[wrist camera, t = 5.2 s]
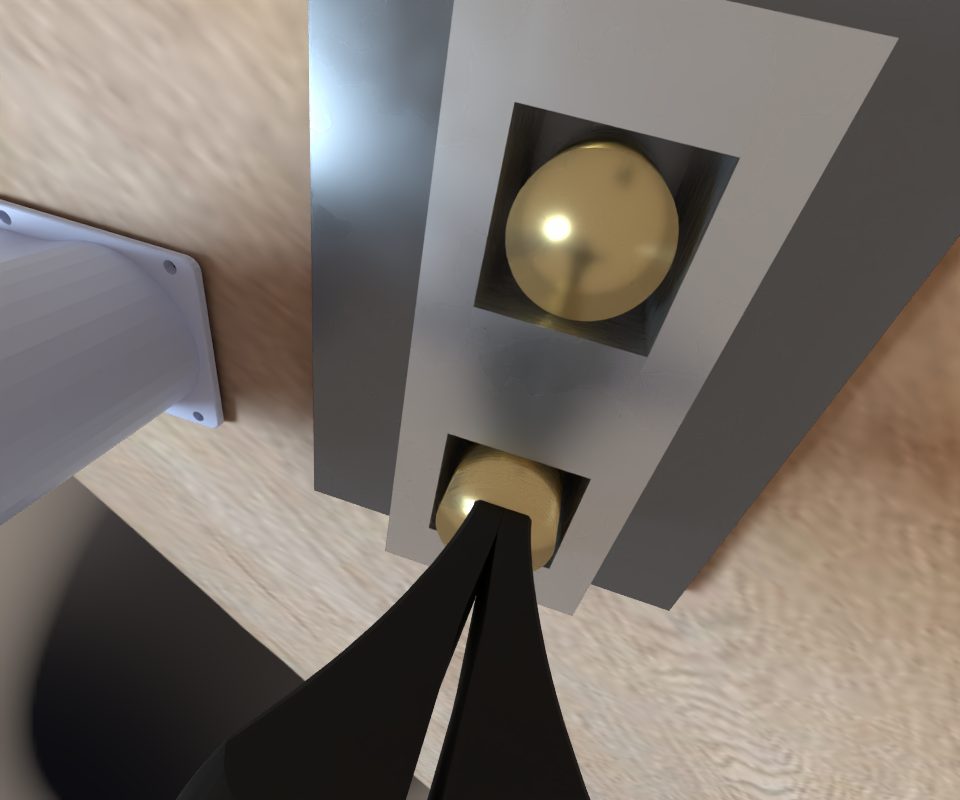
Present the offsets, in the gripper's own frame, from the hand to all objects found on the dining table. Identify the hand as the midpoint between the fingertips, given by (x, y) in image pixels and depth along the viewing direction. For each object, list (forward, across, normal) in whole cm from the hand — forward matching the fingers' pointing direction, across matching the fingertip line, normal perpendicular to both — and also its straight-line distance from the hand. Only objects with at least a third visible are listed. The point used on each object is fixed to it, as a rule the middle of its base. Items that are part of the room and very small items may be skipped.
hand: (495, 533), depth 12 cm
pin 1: (+4, 0, 0) cm, 4 cm away
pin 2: (+5, 0, -7) cm, 9 cm away
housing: (+6, 0, -4) cm, 7 cm away
